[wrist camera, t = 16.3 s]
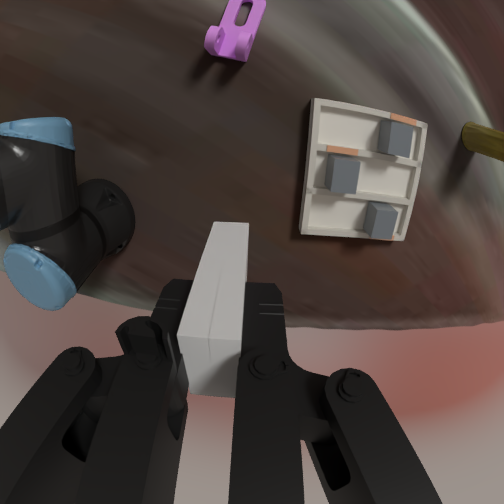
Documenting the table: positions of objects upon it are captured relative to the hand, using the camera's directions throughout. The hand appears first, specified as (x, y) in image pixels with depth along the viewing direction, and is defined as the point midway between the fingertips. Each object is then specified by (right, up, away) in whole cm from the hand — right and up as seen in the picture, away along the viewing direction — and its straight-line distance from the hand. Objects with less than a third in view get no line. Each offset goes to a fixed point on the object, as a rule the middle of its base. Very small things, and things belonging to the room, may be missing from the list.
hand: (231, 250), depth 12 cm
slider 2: (+23, +18, +24) cm, 38 cm away
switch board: (+19, +13, +29) cm, 38 cm away
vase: (+44, +23, +24) cm, 55 cm away
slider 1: (+14, +13, +28) cm, 34 cm away
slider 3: (+22, +6, +31) cm, 39 cm away
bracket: (-1, +35, +18) cm, 39 cm away
